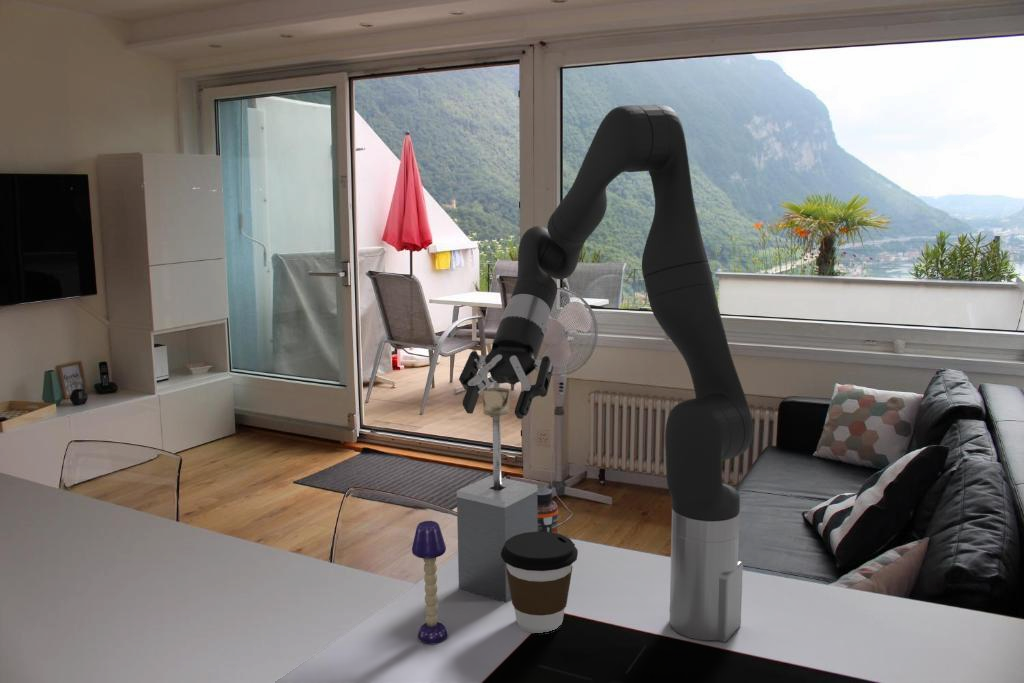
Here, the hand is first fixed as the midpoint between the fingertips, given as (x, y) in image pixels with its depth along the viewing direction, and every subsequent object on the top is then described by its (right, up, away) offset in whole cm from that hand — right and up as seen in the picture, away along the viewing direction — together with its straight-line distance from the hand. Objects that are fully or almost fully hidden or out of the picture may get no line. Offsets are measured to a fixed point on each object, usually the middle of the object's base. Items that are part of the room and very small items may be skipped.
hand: (492, 413), depth 131 cm
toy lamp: (-8, -31, -11) cm, 33 cm away
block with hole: (+1, -28, +6) cm, 28 cm away
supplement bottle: (+8, -26, +18) cm, 32 cm away
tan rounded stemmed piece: (+1, -14, +3) cm, 15 cm away
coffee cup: (+7, -30, -7) cm, 31 cm away
